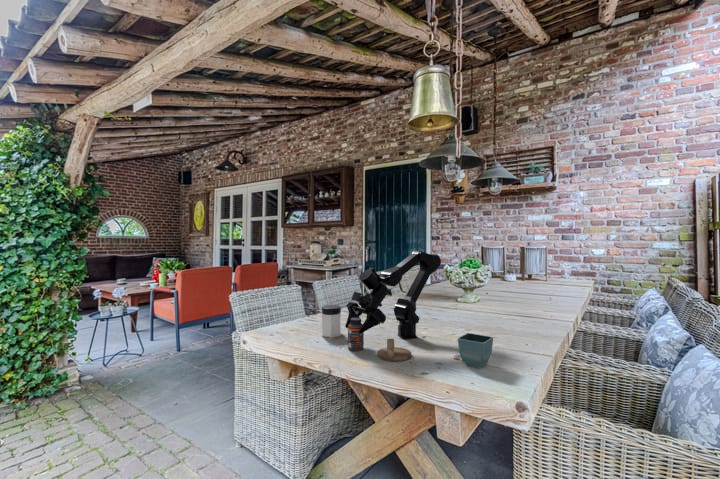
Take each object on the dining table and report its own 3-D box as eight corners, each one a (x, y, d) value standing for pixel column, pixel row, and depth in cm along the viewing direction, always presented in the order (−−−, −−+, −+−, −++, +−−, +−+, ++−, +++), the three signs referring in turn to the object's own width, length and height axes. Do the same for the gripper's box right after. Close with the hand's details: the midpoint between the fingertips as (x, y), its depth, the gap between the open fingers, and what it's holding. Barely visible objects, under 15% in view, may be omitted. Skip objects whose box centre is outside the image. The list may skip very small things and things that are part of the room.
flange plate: (382, 348, 129) (382, 329, 129) (414, 351, 125) (414, 332, 125) (372, 359, 117) (372, 339, 117) (407, 363, 114) (407, 342, 114)
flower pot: (467, 358, 119) (467, 332, 118) (493, 364, 113) (493, 336, 113) (457, 365, 112) (457, 338, 112) (484, 372, 106) (484, 343, 106)
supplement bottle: (349, 352, 125) (349, 321, 125) (346, 347, 131) (346, 317, 131) (365, 350, 127) (365, 319, 127) (361, 345, 133) (361, 316, 133)
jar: (326, 338, 142) (326, 309, 142) (317, 334, 149) (317, 306, 149) (345, 335, 147) (345, 307, 147) (335, 331, 154) (335, 304, 154)
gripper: (350, 281, 139) (326, 312, 132) (379, 286, 124) (354, 321, 117) (365, 299, 144) (343, 329, 137) (396, 306, 128) (372, 340, 122)
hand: (352, 330), depth 128 cm, fingers open, 9 cm apart
